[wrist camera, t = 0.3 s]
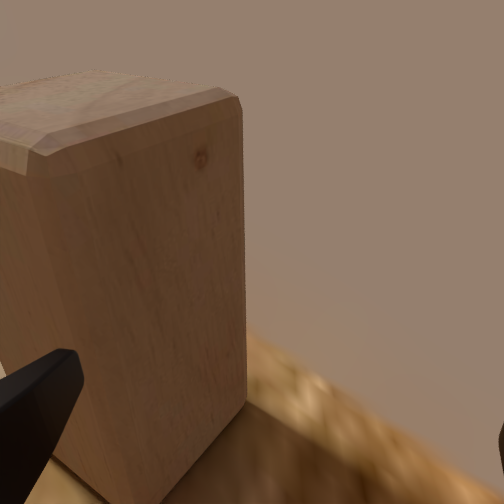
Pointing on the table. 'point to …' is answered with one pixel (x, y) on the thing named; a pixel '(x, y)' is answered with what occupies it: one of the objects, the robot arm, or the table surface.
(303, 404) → the table surface
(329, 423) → the table surface
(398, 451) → the table surface
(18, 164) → the wooden block
